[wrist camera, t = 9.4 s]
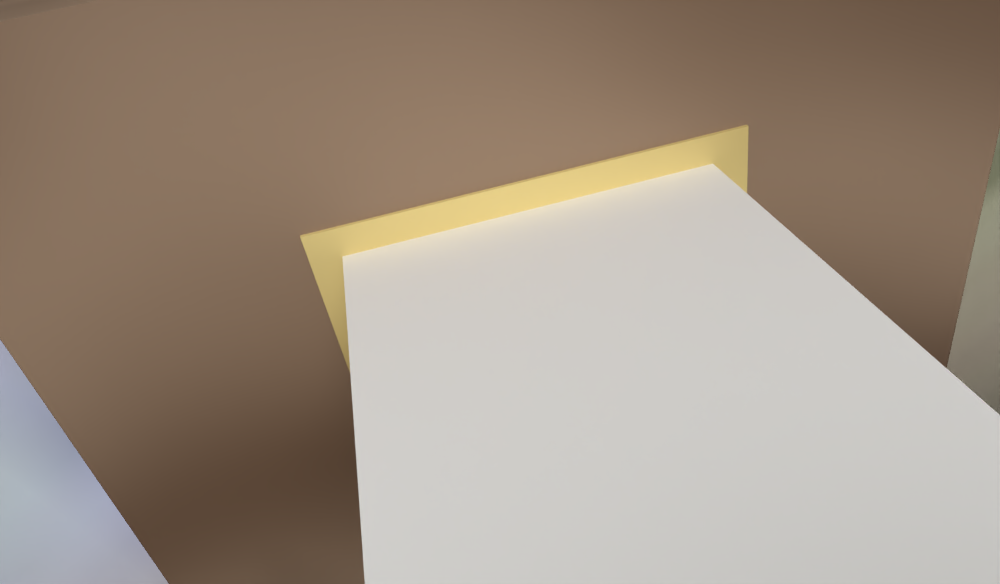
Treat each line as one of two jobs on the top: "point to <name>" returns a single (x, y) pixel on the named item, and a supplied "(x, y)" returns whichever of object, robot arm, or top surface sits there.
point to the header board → (415, 203)
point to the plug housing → (654, 406)
